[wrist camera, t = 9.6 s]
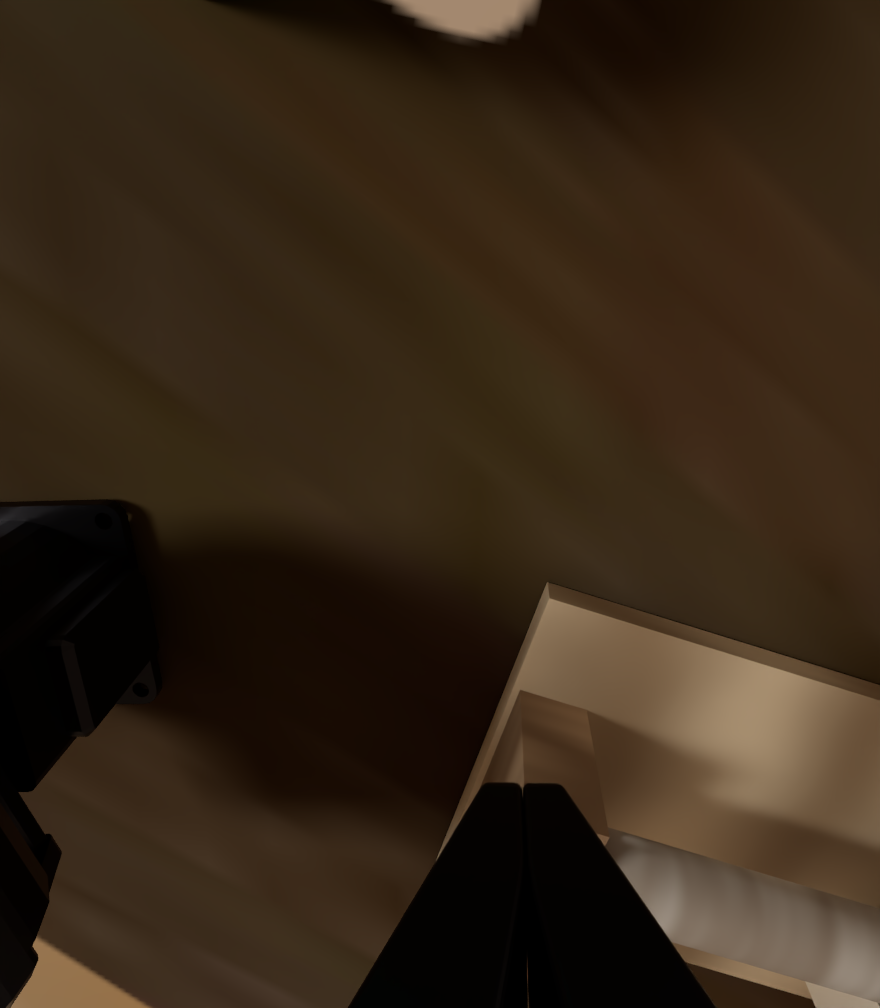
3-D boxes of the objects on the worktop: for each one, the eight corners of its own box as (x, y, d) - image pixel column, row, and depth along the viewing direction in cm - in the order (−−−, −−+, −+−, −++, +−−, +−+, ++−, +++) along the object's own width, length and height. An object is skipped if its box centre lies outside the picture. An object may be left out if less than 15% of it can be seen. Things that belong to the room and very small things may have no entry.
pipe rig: (434, 863, 25) (417, 1037, 20) (547, 581, 21) (563, 703, 16) (936, 1010, 26) (1052, 1219, 21) (1134, 763, 22) (1339, 939, 17)
